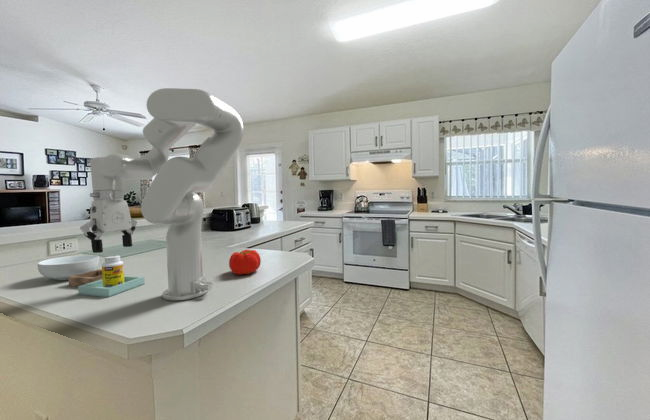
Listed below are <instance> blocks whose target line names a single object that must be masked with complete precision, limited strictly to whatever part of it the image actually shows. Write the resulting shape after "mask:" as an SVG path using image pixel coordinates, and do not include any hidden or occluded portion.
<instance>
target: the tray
mask: <svg viewBox="0 0 650 420" xmlns="http://www.w3.org/2000/svg"><path fill="white" fill-rule="evenodd" d="M143 285H145V276H133V275H124V283H122V284H119V285H116V286H113V287H110V288H109V287H103V279H102V280H98V281H95V282H92V283H88V284H85V285H81V286H77V292H78V293H77V294H78V295H82V296H91V297H93V296H94V297H102V298H103V297H105V298H111V297H114V296H117V295H119V294H121V293H124V292H127V291H129V290H133V289H136V288H138V287H141V286H143Z"/></svg>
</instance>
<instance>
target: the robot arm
mask: <svg viewBox="0 0 650 420" xmlns="http://www.w3.org/2000/svg"><path fill="white" fill-rule="evenodd" d="M146 109H147V112H148V113H149V115H150V116H151V117H152V119H151V120H150V121H149V122H148V123H147V124H146V125H145V126H144V127H143V129H142V135H143V136H144V138H145V140H146V141H147V142H148V143H149V144H150V145H151V146H152V147H151V149H150V150H149V151H148V152H147V153H146V154H145V155H144V156H142V157H141V156H135V155H127V154H123V153H113V154H111V153H110V154H108V155H107V156H97V157H93V158H91V160H90V161H89V162H90V165H89V166H90V174H91V175H90V176H91V177H90V178H91V186H92V192H90V193H89V197H90V198H92V199H93V200H92V201H91V203H90V204H91V205H90V210H89V212H90V217H89V219H90V221H87V222H86V223H84V224H82V225H81V226H80V227H79V229H80V230H81V232H82V234H83V235H84V236H85V237H86V238H87V239H88V240H89V241H91V242H90V243H91V250H92V253H93V254H96V253H97V254H99V253H103V252H104V250H103V249H104V248H103V247H104V246H103V240H102V238H101V237H102V236H103V234H104V233H113V232H121V233H122V234H123V235H122V236H121V238H122V239H121V240H122V246H123V247H124V248H129V247H130V248H131V247H132V246H133V241H132V240H133V238H132V235H133V234H134V232H135V230H136V226H137V225H138V221H137V220H135V219H132V217H131V212H130V207H129V204H128V202H127V200H124V187H123V180H136V181H146V180H149V179H151V178H153V177H154V179H153V180H152V182H151V184H150V185H149V187H148V189H147V190H146V193H145V194H144V196H143V197H142V201H141V205H140V206H141V207H140V209H141V211H140V212H141V214H142V217H143V218H144V220H146V221H147V222H148V223H150V224H153V225H158V226H159V225H160V226H161V225H169V226H168V228H167V231H166V236H165V237H166V238H165V242H166V244H165V245H166V265H167V266H166V269H167V285H168V288H167V289H165V290H164V291H163V292H162V298H163V299H164V300H167V301H174V302H175V301H185V300H190V299H195V298H198V297H201V296H203V295H205V294H207V293H208V291H211V290H212V289H213V285H214V282H213V281H207V276H204V275H203V274H204V273H203V271H204V270H203V266H204V265H203V247H202V241H203V238H202V226H203V225H202V224H203V223H202V222H203V216H204V212H205V211H204V209H205V207H204V202H203V200H202V198H201V196H200V195H198V194H197V193H206V192H209V191H210V190H212V189H213V188H214V186H215V184H216V182H217V181H218V179H219V178H220V177H221V176H222V175H221V174H222V173H223V171H224V170H225V168H226V167H227V165H228V163H229V161H230V159H231V158H232V157H233V155H234V154H235V153H236V151H237V150H238V148H239V146H240V145H241V143H242V140H243V138H244V132H245V130H244V128H245V127H244V123H243V120H242V118H241V115H240V114H239V113H238V112H237V110H235V108H234V107H232V106H231V105H229V104H228V103H226V102H225V101H223V100H221V99H219V98H218V97H216V96H215V95H213V94H212V93H209V91H208V92H207V91H205V90H203V89H200V88H199V89H197V88H174V87H173V88H172V87H171V88H170V87H166V88H159V89H156V90H154V91H153V92H151V94H149V96H148V97H147V100H146ZM197 124H199V125H201V126H202V127H205V128H208V129H211V130H212V131H213V133H212V134H211V135H210V136H208V137H206V139H205V140H203V142H202V143H201V145H200V147H199V148H198V150H197V151H196V152H195V155H193V157H187V156H174V157H171V158H169V156H170V149H171V148H172V147H173V146H174V145H175V144H176V143H177V142H178V141H180V140H181V139H182V138H183V137H184V136H185V135H186V134H188V132H189V131H190V130H191V129H193V128H194V127H195V126H196V125H197Z"/></svg>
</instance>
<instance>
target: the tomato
mask: <svg viewBox="0 0 650 420" xmlns="http://www.w3.org/2000/svg"><path fill="white" fill-rule="evenodd" d="M261 261H262V260H261V255H260V254H259V252H258V251H256V250H255V249H244V250H242V251H235V252H233V253H232V254H231V256H230V257H229V260H228V267H229V269H230V270H231V272H232V273H233V274H235V275H238V276H242V275H250V274H252V273H253V272H256V271H257V270H258V269H259V268H260V267H261V263H262V262H261Z"/></svg>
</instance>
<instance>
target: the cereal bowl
mask: <svg viewBox="0 0 650 420" xmlns="http://www.w3.org/2000/svg"><path fill="white" fill-rule="evenodd" d="M99 263H100V257H99V255H98V254H96V255H95V254H83V255H81V254H80V255H69V256H61V257H60V256H58V257H54V258H48V259H45V260H42V261H38V262H37V270H38V273H39V274H40V275H41V276H43V277H45V278H48V279H53V280H54V279H55V280H56V281H69V279H68V277H70V276H74V275H78V274H82V273H86V272H90V271H94V270H96V269H97V268H98V266H99Z"/></svg>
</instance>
